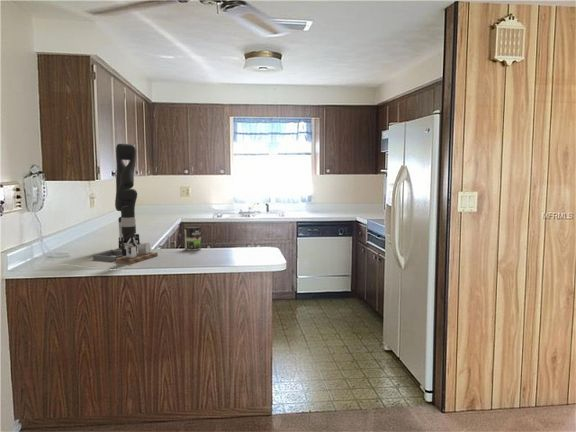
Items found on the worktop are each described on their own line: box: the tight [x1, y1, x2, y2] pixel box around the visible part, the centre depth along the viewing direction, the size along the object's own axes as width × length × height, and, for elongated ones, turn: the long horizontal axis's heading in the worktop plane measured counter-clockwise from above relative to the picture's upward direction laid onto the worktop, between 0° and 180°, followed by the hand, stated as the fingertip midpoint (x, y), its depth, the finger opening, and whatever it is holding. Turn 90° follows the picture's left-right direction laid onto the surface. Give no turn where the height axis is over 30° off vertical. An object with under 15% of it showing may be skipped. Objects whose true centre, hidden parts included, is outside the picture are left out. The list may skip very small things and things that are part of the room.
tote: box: [92, 249, 123, 263], centre depth 270 cm, size 16×16×4 cm
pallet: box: [115, 251, 159, 266], centre depth 266 cm, size 22×11×3 cm, turn 158°
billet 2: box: [137, 241, 151, 255], centre depth 271 cm, size 4×6×8 cm
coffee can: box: [183, 225, 202, 251], centre depth 299 cm, size 10×10×14 cm
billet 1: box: [124, 246, 137, 259], centre depth 260 cm, size 4×6×8 cm
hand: (129, 254), depth 260 cm, fingers open, 8 cm apart
